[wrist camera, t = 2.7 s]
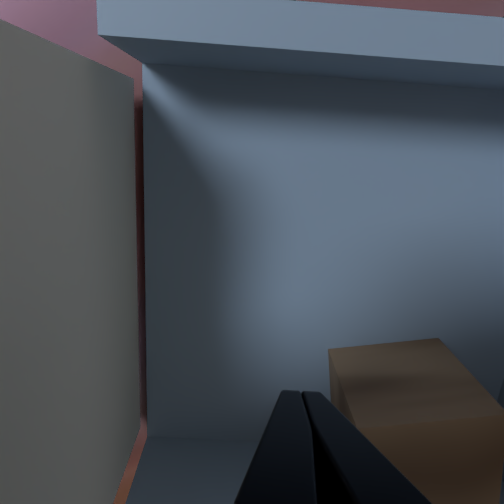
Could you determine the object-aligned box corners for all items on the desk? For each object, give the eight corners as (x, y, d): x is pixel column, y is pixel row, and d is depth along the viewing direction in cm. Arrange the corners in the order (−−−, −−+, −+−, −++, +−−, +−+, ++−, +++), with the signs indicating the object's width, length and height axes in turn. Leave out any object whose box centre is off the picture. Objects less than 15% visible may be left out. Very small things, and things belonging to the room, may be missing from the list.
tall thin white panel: (140, 427, 17) (32, 725, 9) (112, 425, 17) (-24, 724, 9) (133, 78, 13) (-89, -21, 4) (96, 76, 13) (-200, -31, 4)
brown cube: (435, 428, 17) (497, 526, 13) (333, 437, 17) (361, 538, 13) (438, 337, 16) (508, 414, 12) (327, 349, 16) (356, 428, 12)
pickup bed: (474, 461, 20) (556, 581, 15) (155, 447, 19) (120, 565, 14) (598, 42, 14) (803, -9, 9) (152, 7, 14) (93, -69, 8)
